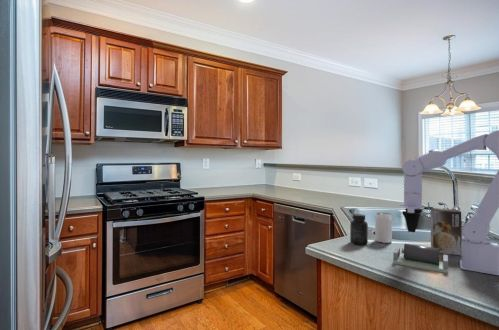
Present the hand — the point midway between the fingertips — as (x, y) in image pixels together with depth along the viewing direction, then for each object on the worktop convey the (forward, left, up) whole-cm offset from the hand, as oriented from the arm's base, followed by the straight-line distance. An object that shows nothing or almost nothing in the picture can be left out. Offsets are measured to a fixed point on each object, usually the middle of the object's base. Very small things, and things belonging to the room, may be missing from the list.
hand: (412, 229), depth 105 cm
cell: (-3, +9, -8) cm, 13 cm away
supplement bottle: (+20, -5, -10) cm, 23 cm away
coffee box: (-10, -12, -10) cm, 18 cm away
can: (+12, -14, -10) cm, 21 cm away
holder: (-3, +9, -9) cm, 13 cm away
